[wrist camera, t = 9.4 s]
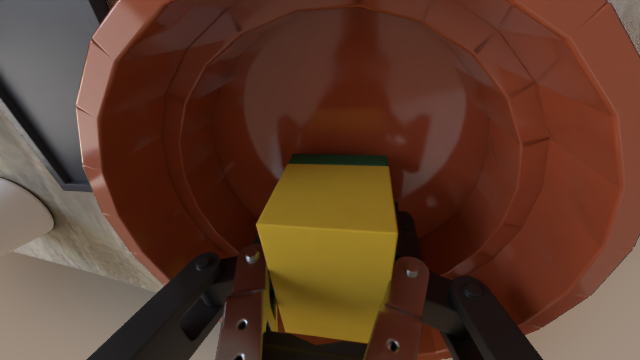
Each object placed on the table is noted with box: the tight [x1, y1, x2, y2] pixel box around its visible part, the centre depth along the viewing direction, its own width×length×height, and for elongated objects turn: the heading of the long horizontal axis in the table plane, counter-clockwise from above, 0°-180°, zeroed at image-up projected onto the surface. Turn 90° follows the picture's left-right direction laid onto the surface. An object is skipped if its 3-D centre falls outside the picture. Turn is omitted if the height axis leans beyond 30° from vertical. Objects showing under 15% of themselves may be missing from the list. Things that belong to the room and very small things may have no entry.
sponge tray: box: [0, 0, 109, 192], centre depth 13 cm, size 15×9×1 cm, turn 4°
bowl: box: [76, 0, 640, 360], centre depth 11 cm, size 16×16×6 cm
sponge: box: [256, 154, 398, 343], centre depth 12 cm, size 7×4×5 cm, turn 4°
